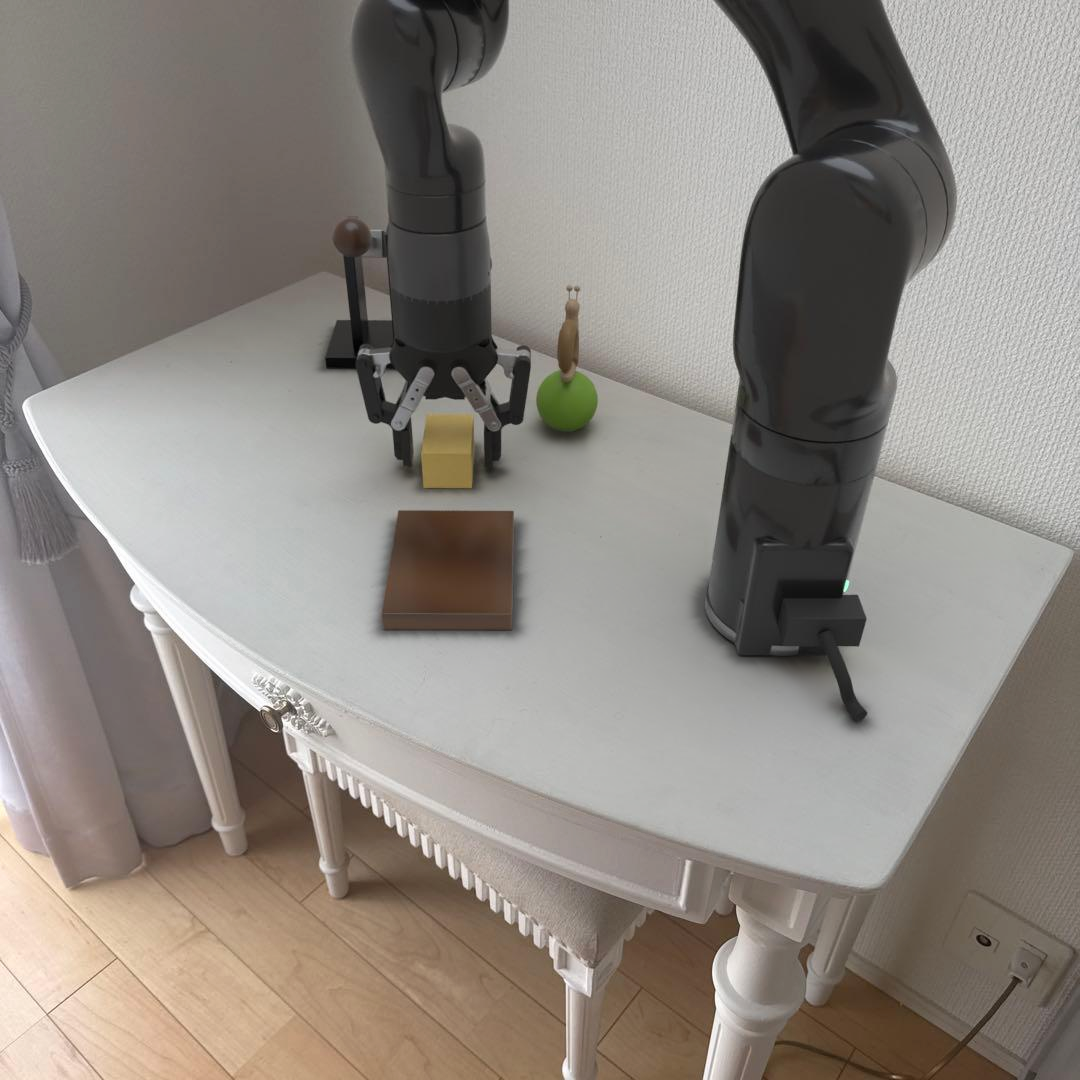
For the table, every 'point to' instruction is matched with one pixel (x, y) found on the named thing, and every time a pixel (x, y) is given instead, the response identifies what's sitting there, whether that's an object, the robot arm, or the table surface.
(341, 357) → the slicer bracket
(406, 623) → the board
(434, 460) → the butter
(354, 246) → the brown knob lever
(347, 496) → the table surface
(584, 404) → the snail figurine
